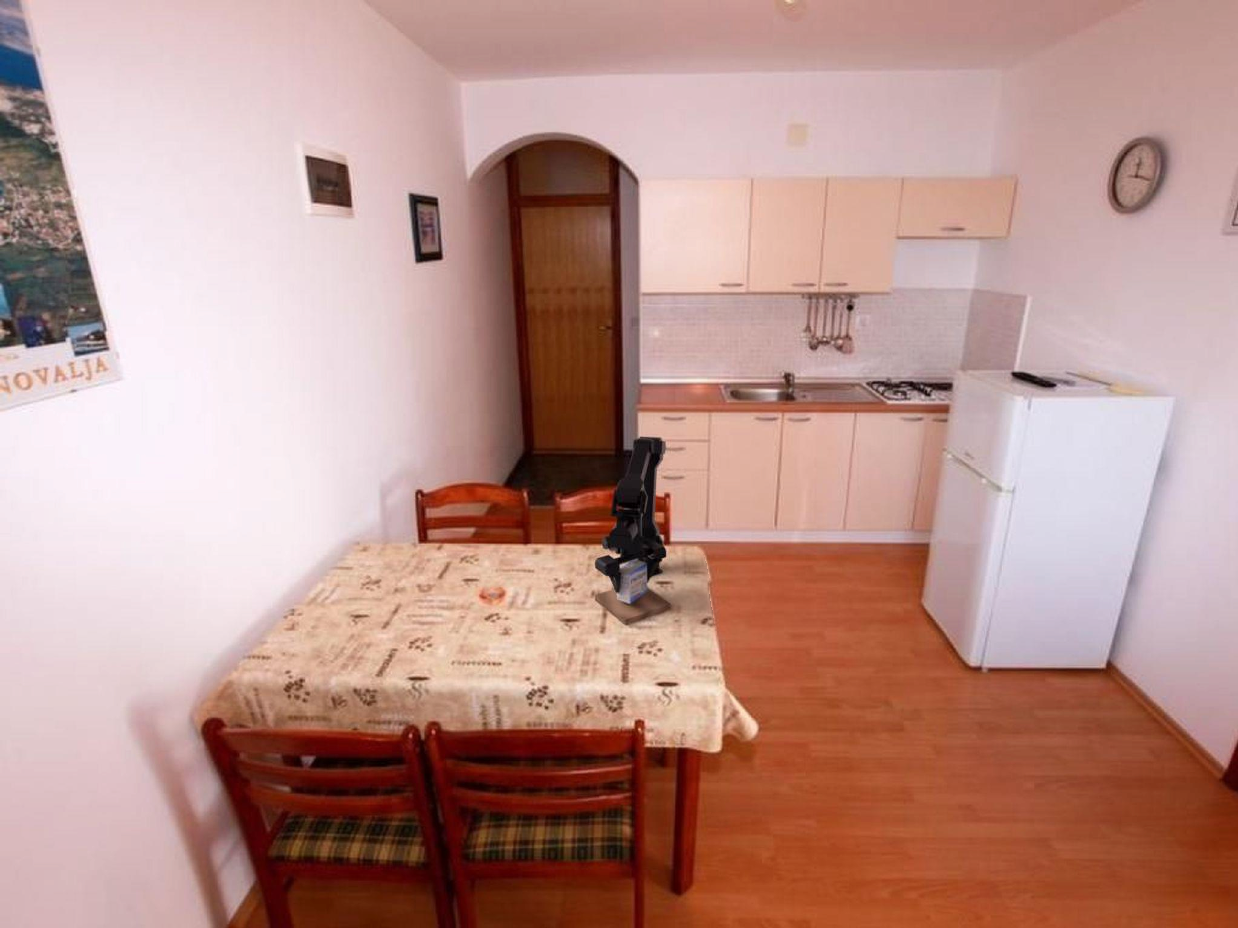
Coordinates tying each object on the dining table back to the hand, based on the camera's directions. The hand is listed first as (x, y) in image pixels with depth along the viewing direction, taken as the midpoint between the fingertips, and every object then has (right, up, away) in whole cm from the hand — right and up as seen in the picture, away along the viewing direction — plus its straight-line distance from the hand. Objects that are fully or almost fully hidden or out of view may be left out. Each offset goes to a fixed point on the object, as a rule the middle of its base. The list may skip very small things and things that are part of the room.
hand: (631, 587), depth 171 cm
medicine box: (0, -3, +1) cm, 3 cm away
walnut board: (0, -5, +1) cm, 5 cm away
